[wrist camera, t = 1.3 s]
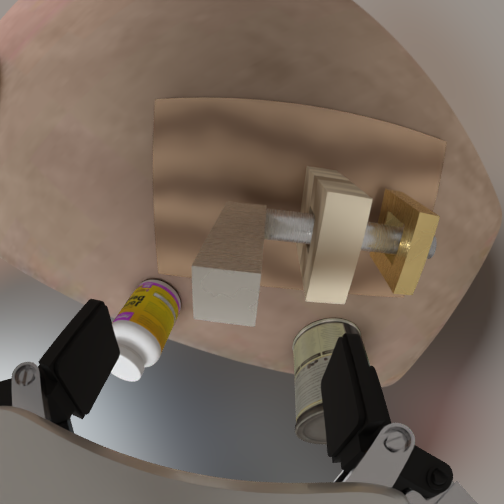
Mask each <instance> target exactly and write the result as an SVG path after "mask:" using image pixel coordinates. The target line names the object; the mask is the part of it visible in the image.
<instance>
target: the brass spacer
mask: <svg viewBox="0 0 504 504" xmlns="http://www.w3.org/2000/svg"><path fill="white" fill-rule="evenodd" d="M439 217H440V216H438V215H437V214H435V213H434V212H432V211H431V210H429V209H428V208H426V207H425V206H423V205H422V204H420V203H419V202H417V201H416V200H414V199H413V198H411V197H410V196H408V195H406V194H405V193H403V192H399V191H395V190H390V189H385V193H384V198H383V202H382V207H381V211H380V216H379V220H378V223H380V224H387V225H393V226H399V227H403V225H405V226H404V230H403V233H402V237H401V240H400V244H399V247H398V250H397V254H396V255H395V254H387V253H379V252H371V251H370V254H369V255H370V257H371V258H372V260H373V261H374V263H375V265H376V266H377V268H378V269H379V271H380V273H381V274H382V276H383V278H384V279H385V281H386V282H387V284H388V286H389V287H390V289H391V291H392V293H393V294H403V295H413V293H414V290H415V288H416V285H417V283H418V280H419V278H420V275H421V273H422V270H423V267H424V264H425V262H426V259H427V256H428V253H429V250H430V247H431V244H432V241H433V238H434V235H435V231H436V228H437V225H438V221H439Z"/></svg>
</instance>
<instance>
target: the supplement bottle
mask: <svg viewBox="0 0 504 504" xmlns="http://www.w3.org/2000/svg"><path fill="white" fill-rule="evenodd" d="M180 309H181V302H180V298H179V296H178V294H177V293H176V291H175V290H174V289H173V288H172V287H171V286H169V285H168V284H166V283H164V282H162V281H159V280H146V281H144V282H142V283H141V284H140V285H139V286H138V287H137V288H136V290H135V291H134V293H133V294H132V295H131V297H130V298H129V299H128V301H127V302H126V304H125V305H124V307H123V308H122V310H121V311H120V312H119V314H118V315H117V317H116V318H115V320H114V321H113V323H112V326H113V329H114V333H115V336H116V340H117V343H118V346H119V349H120V356H119V359H118V360H117V362H116V364H115V366H114V367H113V369H112V371H111V373H112V374H114V375H115V376H117V377H119V378H121V379H123V380H126V381H137V380H139V379H140V378H141V375H142V373H143V372H144V367H149V366H151V365H153V364H155V363H156V362H157V361H158V359H159V357H160V355H161V352H162V350H163V348H164V345H165V343H166V341H167V339H168V337H169V334H170V332H171V330H172V328H173V325H174V323H175V321H176V319H177V317H178V314H179V312H180Z"/></svg>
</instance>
